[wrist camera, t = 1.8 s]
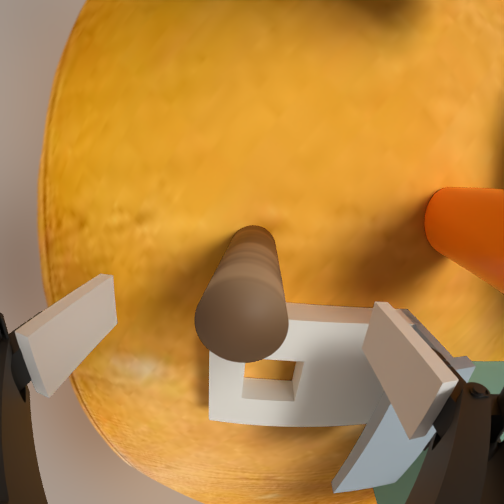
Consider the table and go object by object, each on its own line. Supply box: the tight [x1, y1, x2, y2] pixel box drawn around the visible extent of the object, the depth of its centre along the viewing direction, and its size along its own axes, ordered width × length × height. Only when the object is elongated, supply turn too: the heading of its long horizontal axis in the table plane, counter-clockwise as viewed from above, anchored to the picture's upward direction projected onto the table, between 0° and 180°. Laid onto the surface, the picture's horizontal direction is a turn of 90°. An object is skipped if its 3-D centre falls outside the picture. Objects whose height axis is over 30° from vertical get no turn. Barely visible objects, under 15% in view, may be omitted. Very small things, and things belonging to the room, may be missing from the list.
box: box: [373, 361, 504, 504], centre depth 18 cm, size 23×21×26 cm
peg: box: [195, 225, 289, 363], centre depth 18 cm, size 4×4×14 cm
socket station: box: [209, 303, 476, 493], centre depth 22 cm, size 16×20×12 cm
